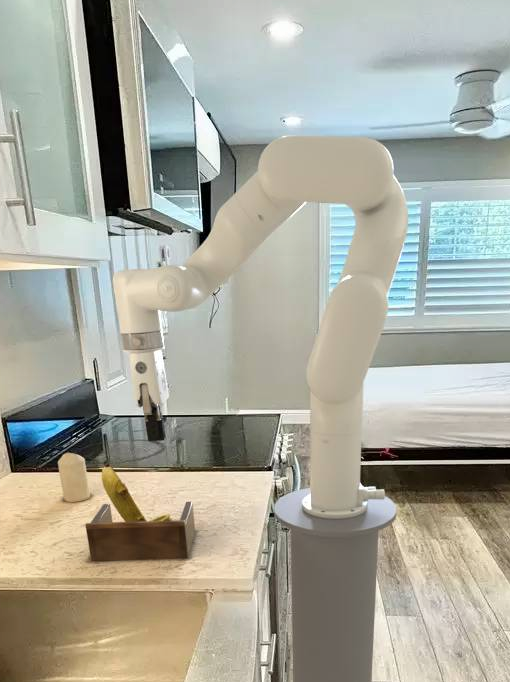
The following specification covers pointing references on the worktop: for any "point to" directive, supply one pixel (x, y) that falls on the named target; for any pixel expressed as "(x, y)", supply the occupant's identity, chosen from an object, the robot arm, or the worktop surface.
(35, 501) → the worktop surface
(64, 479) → the candle
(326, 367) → the robot arm
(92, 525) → the wooden u-shaped stand
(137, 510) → the ripe yellow banana
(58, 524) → the worktop surface
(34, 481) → the worktop surface
